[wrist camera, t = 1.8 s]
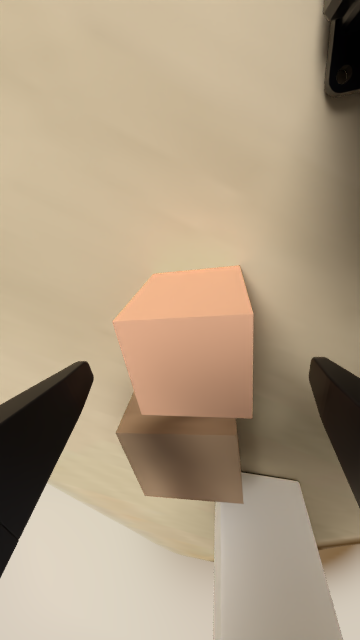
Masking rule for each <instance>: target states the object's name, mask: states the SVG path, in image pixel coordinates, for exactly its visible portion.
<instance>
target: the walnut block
mask: <svg viewBox="0 0 360 640" xmlns="http://www.w3.org/2000/svg"><path fill="white" fill-rule="evenodd" d="M116 435H117V437H118V439H119V441H120V443H121V445H122V448H123V450H124V452H125V454H126V456H127V458H128V460H129V463H130V465H131V467H132V469H133V471H134V473H135V475H136V478H137V480H138V482H139V484H140V486H141V488H142V490H143V493H144V495H145V496H154V497H166V498H178V499H190V500H202V501H214V502H226V503H238V504H244V501H243V489H242V476H241V464H240V452H239V443H238V433H237V423H236V418H220V417H192V416H163V415H142V414H141V411H140V408H139V405H138V402H137V399H136V395H135V392H134V393H133V395H132V397H131V399H130V402H129V404H128V406H127V409H126V411H125V413H124V415H123V418H122V420H121V422H120V425H119V427H118V429H117V431H116Z"/></svg>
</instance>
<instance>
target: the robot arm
mask: <svg viewBox="0 0 360 640" xmlns="http://www.w3.org/2000/svg"><path fill="white" fill-rule="evenodd" d="M323 14H324V15H325V17H326V19H327V20H328V22H329V21H331V28H330V37H329V46H328V55H327V64H326V73H325V82H324V84H325V91H326V93H327V95H329V96H331V97H340V96H344V95H349V94H353V93H358V92H360V0H324V9H323ZM339 70H344V71H345V72H346V73H347V79H346V82H345V83H344V84H339V83H338V82H337V80H336V75H337V72H338V71H339ZM93 379H94V377H93V373H92V371H91V368H90V366H89V364H88V362H86V361H78V362H76V363H74V364H72V365H70V366H68V367H67V368H65V369H63V370H61V371H60V372H58V373H56V374H54V375H53V376H51V377H49V378H47V379H45V380H44V381H42V382H40V383H38V384H37V385H35V386H33V387H31V388H29V389H28V390H26V391H24V392H22V393H21V394H19V395H17V396H15V397H13V398H12V399H10V400H8V401H6V402H5V403H3V404H1V405H0V578H1V576H2V573H3V571H4V570H5V567H6V565H7V563H8V561H9V559H10V557H11V555H12V553H13V551H14V549H15V547H16V545H17V543H18V539H19V538H20V536H21V535H22V532H23V530H24V528H25V526H26V524H27V522H28V520H29V518H30V516H31V514H32V512H33V510H34V508H35V506H36V504H37V502H38V500H39V498H40V496H41V493H42V492H43V490H44V488H45V486H46V484H47V482H48V480H49V478H50V475H51V473H52V471H53V469H54V467H55V465H56V463H57V461H58V459H59V457H60V455H61V453H62V451H63V449H64V447H65V445H66V443H67V441H68V439H69V437H70V435H71V433H72V431H73V429H74V427H75V425H76V423H77V421H78V418H79V416H80V414H81V412H82V409H83V407H84V404H85V402H86V399H87V396H88V394H89V391H90V388H91V386H92V383H93ZM309 381H310V385H311V388H312V391H313V395H314V398H315V401H316V404H317V408H318V411H319V414H320V417H321V420H322V423H323V425H324V428H325V430H326V432H327V435H328V437H329V439H330V441H331V444H332V446H333V448H334V451H335V453H336V455H337V457H338V460H339V462H340V464H341V467H342V469H343V471H344V473H345V476H346V478H347V480H348V483H349V485H350V487H351V489H352V492H353V494H354V496H355V499H356V501H357V503H358V505H359V508H360V378H359V377H357V376H355V375H354V374H352V373H351V372H349V371H347V370H346V369H344V368H342V367H341V366H339V365H337V364H336V363H334V362H332V361H331V360H329V359H328V358H326V357H313V358H312V360H311V364H310V371H309Z"/></svg>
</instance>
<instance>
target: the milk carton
mask: <svg viewBox="0 0 360 640" xmlns="http://www.w3.org/2000/svg"><path fill="white" fill-rule="evenodd" d="M241 476H242V489H243V501H244V504H238V503H226V502H216V504H215V548H214V619H213V621H214V622H213V623H214V624H213V640H343V638H342V634H341V631H340V627H339V624H338V620H337V616H336V613H335V609H334V606H333V602H332V598H331V595H330V591H329V588H328V584H327V580H326V577H325V573H324V570H323V566H322V562H321V559H320V556H319V552H318V548H317V545H316V541H315V537H314V534H313V530H312V527H311V523H310V519H309V516H308V512H307V509H306V505H305V502H304V498H303V494H302V491H301V487H300V484H299V482H298V481H293V480H287V479H281V478H274V477H268V476H262V475H255V474H249V473H242V472H241Z"/></svg>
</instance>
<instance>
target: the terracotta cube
mask: <svg viewBox="0 0 360 640" xmlns="http://www.w3.org/2000/svg"><path fill="white" fill-rule="evenodd" d="M112 322H113V325H114V328H115V332H116V335H117V338H118V341H119V344H120V348H121V351H122V354H123V357H124V360H125V363H126V367H127V370H128V373H129V376H130V379H131V383H132V386H133V389H134V392H135V395H136V399H137V402H138V405H139V408H140V411H141V414H142V415H163V416H192V417H220V418H249V419H252V416H253V311H252V307H251V304H250V300H249V297H248V293H247V290H246V286H245V282H244V279H243V275H242V272H241V268H240V265H239V266H229V267H219V268H208V269H198V270H188V271H177V272H167V273H157V274H153V275H152V276H151V277H150V278H149V280H148V281H147V282H146V283H145V284H144V285H143V287H142V288H141V289H140V290H139V291H138V292H137V293H136V295H135V296H134V297H133V298H132V299H131V300H130V302H129V303H128V304H127V305H126V306H125V307H124V309H123V310H122V311H121V312H120V313H119V314H118V316H117V317H116V318H115V319H114V320H113V321H112Z"/></svg>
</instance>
